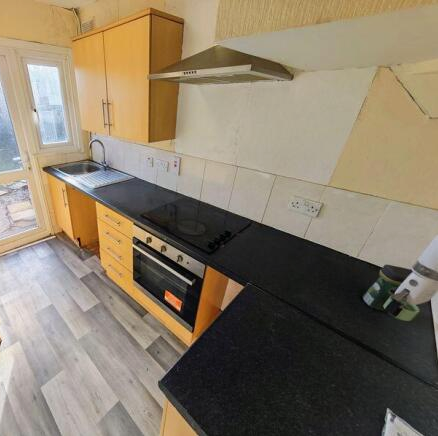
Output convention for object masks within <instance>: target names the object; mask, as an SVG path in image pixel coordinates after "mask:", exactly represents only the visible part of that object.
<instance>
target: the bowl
mask: <svg viewBox="0 0 438 436" xmlns="http://www.w3.org/2000/svg"><path fill="white" fill-rule="evenodd" d="M394 296H395V295H392V296H390V297H389V298H388V299H387V301H386V302H385V303H384V305H383V307H384V309H385V308H386V307H387V305H388V304H389V303H390V301H391V300H392V298H393V297H394ZM403 299H405V297H404V298H403ZM405 300H406V301H407V299H405ZM399 302H401V304H402V303H403V302H404V301H403V300H400V301H399ZM418 313H420V308H419V306H416V305H409V303H407V304H406V305H405V306H404V307H403V310H402V311H401V312H400V313H399V315H398V316H397V317H394V316H392V315H391V314H389V315H390V316H392V318H395V319H397V320H400V321H403V322H404V321H405V322H410V321H412V320H414V319H415V317H416V316H417V315H418Z"/></svg>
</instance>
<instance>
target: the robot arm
mask: <svg viewBox="0 0 438 436" xmlns="http://www.w3.org/2000/svg"><path fill="white" fill-rule="evenodd" d="M410 269H412V271H413V272H412V273H411V274H410V275H409V276H408V277H407V278H406V279H405V280H404V282H403V283H402V284H401V285H400V286H399V288H398V289H397V290H396V292H395V296H394V297H393V298H392V300H391V301H390V303H389V304H388V305H387V307H386V308H385V309H384V310H385V311H386V312H385V313H387V314H389V315H390V314H391V315H390V316H392V317H393V316H394V317H393V318H395V317H397V316H398V315H399V313H400V312H401V311H402V310H403V307H404V306H405V305H406V304H407V303H409V305H416V306H417V307H419V305H421V304H424V303H427V302H429V301H431V300H432V299H433V297H434V296H435V295H436V293H438V234H436V236H435V237H434V238H433V239H432V240H431V241H430V243H429V244H428V245H427V246H426V248H425V250H424V251H423V252H422V253H421V254H420V256H419V257H418V259H417V260H416V261H415V262H414V263H413V265H412V266H411V267H410ZM403 298H405V299H407V301H406V300H405V299H403ZM400 300H403V301H404V302H403V303H402V304H401V302H399V301H400Z"/></svg>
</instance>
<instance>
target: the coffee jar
mask: <svg viewBox="0 0 438 436" xmlns="http://www.w3.org/2000/svg"><path fill="white" fill-rule="evenodd" d="M412 272H413V271H412V269H411V268H406V267H401V266H397V265H392V264H384V265H383V266H382V267H381V268H380V270H379V275H378V277H377V278H376V280H375V281H374V282H373V284H372V285H371V286H370V287H369V288H368V289H367V290H366V291H365V292H364V294H363V295H362V299H363V301H364V303H365V304H366V305H367V306H369V307H370V308H372V309H373V310H377V311H380V312H384V313H387V312H386V311H385V310H384V307H383V305H384V303H385V302H386V301H387V299H388V298H389V297H390V296H392V295H395V292H396V290H397V289H398V288H399V286H400V285H401V284H402V283H403V282H404V280H405V279H406V278H407V277H408V276H409V275H410V274H411V273H412Z"/></svg>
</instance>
